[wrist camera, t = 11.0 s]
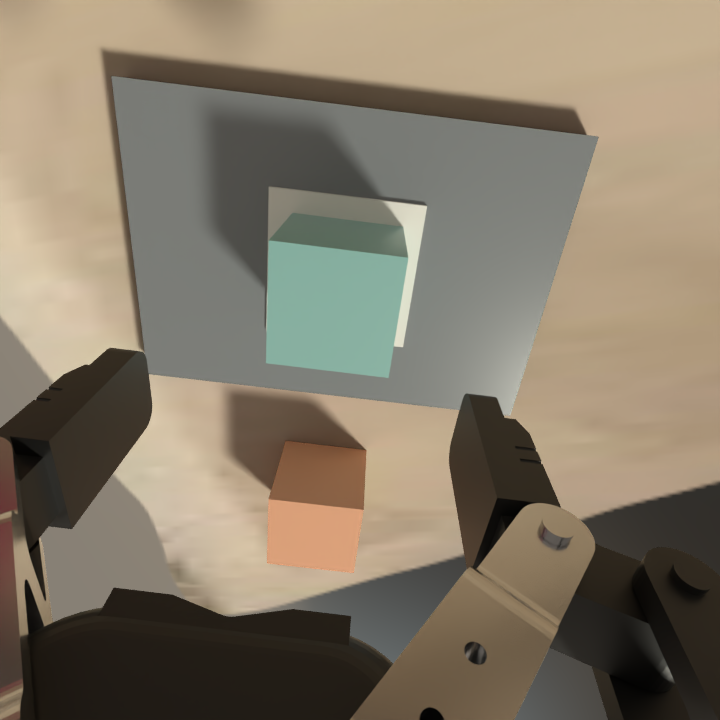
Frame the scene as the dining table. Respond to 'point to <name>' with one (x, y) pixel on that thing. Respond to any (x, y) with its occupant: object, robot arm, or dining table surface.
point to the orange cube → (316, 507)
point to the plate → (350, 202)
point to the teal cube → (334, 294)
